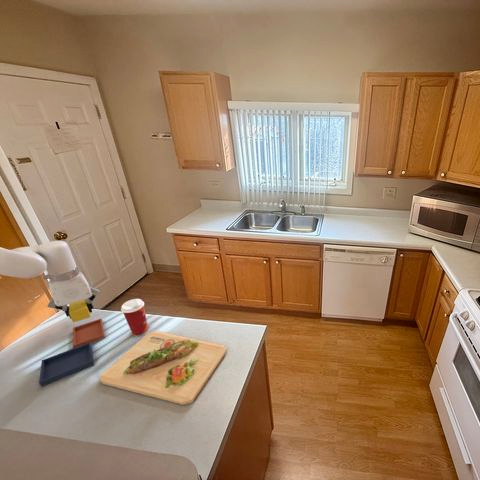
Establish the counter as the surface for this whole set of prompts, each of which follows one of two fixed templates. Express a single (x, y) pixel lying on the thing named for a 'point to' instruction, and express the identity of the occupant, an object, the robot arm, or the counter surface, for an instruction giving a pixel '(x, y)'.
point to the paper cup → (135, 316)
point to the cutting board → (165, 367)
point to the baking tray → (66, 364)
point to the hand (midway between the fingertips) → (81, 313)
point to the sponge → (79, 311)
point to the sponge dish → (88, 333)
